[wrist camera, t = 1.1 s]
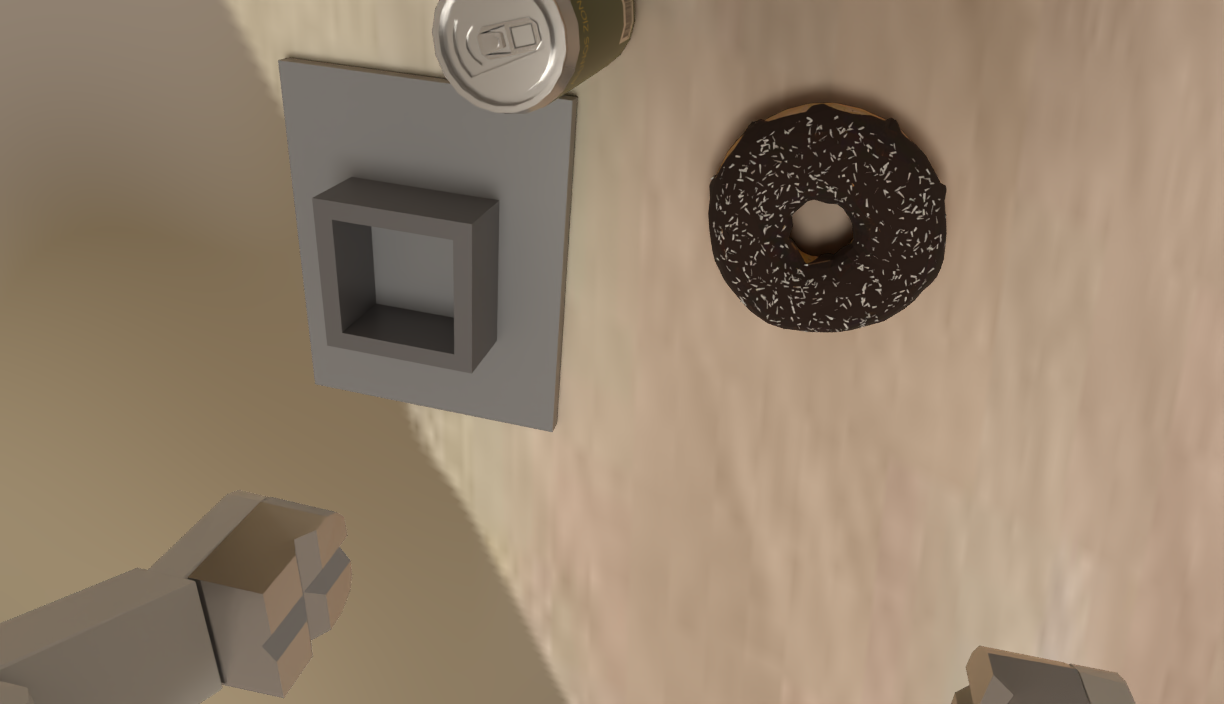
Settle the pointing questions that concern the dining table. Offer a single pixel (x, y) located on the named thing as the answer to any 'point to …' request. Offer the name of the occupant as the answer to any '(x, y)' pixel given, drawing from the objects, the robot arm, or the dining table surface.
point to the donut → (836, 174)
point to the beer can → (527, 47)
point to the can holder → (431, 240)
